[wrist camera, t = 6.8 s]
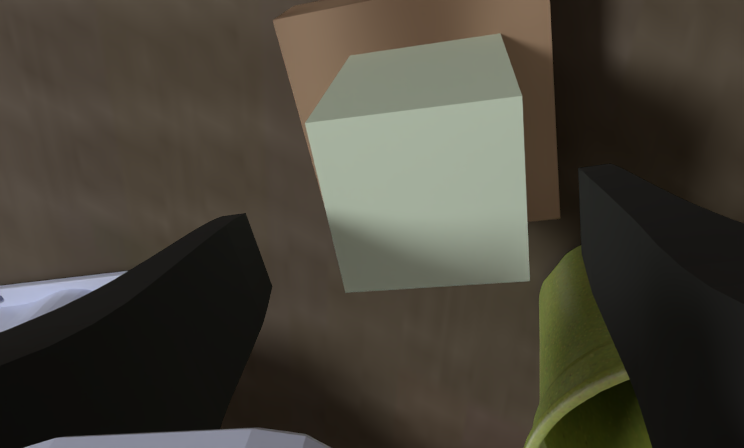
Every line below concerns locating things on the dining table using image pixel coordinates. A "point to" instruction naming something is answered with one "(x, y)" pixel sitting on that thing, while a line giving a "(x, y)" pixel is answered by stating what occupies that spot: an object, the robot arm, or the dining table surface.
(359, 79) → the sage block
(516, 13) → the walnut slab
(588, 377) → the plant pot
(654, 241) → the robot arm
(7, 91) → the dining table surface
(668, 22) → the dining table surface
